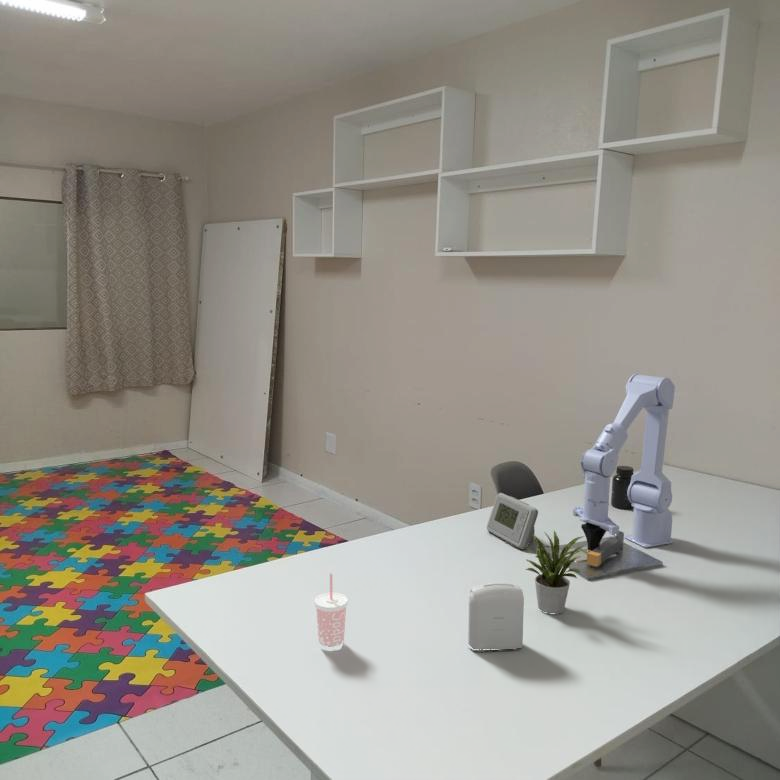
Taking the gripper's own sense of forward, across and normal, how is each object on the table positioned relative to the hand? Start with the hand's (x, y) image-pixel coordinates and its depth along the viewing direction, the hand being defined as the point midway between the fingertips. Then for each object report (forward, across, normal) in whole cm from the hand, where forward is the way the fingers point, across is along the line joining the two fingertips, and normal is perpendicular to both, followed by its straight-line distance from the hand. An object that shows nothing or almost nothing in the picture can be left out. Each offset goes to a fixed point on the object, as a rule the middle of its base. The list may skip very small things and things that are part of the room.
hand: (593, 553), depth 172 cm
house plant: (+2, +18, -23) cm, 29 cm away
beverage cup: (+2, +14, -71) cm, 72 cm away
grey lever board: (+2, -1, +3) cm, 4 cm away
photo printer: (+2, +26, -43) cm, 50 cm away
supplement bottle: (+3, -31, +36) cm, 47 cm away
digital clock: (+2, -20, -11) cm, 23 cm away
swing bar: (0, +2, +2) cm, 3 cm away
